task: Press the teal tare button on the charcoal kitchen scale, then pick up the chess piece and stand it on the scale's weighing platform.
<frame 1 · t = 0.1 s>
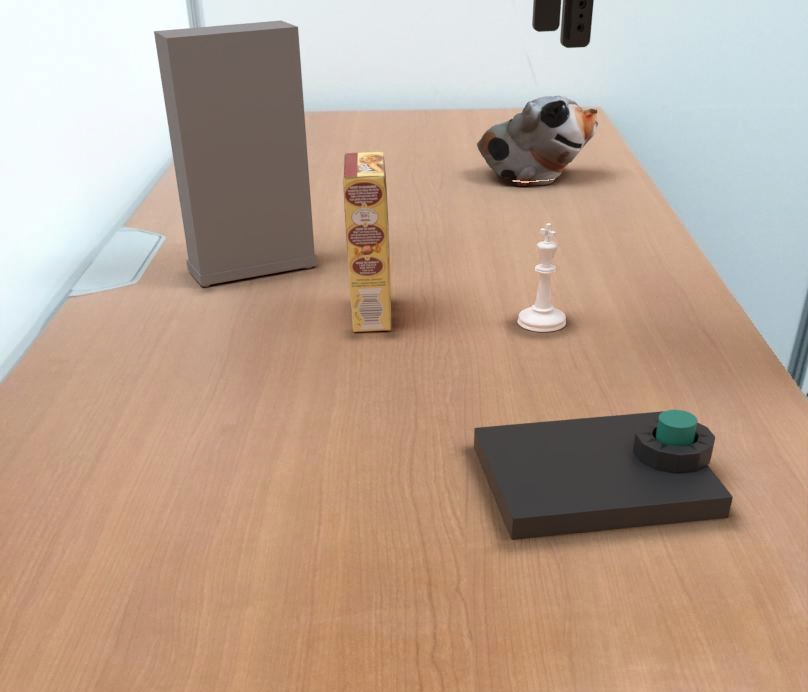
hand: (559, 38, 78), 27 cm above the table, tool pointing down, fingers open, 8 cm apart
candy box: (370, 317, 100), on the table
gray rectangular block: (252, 271, 111), on the table
chess piece: (541, 324, 98), on the table
scale: (593, 481, 73), on the table
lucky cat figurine: (535, 177, 141), on the table
tare button: (676, 428, 71), point 4 cm above the table, slide at 0.1 cm
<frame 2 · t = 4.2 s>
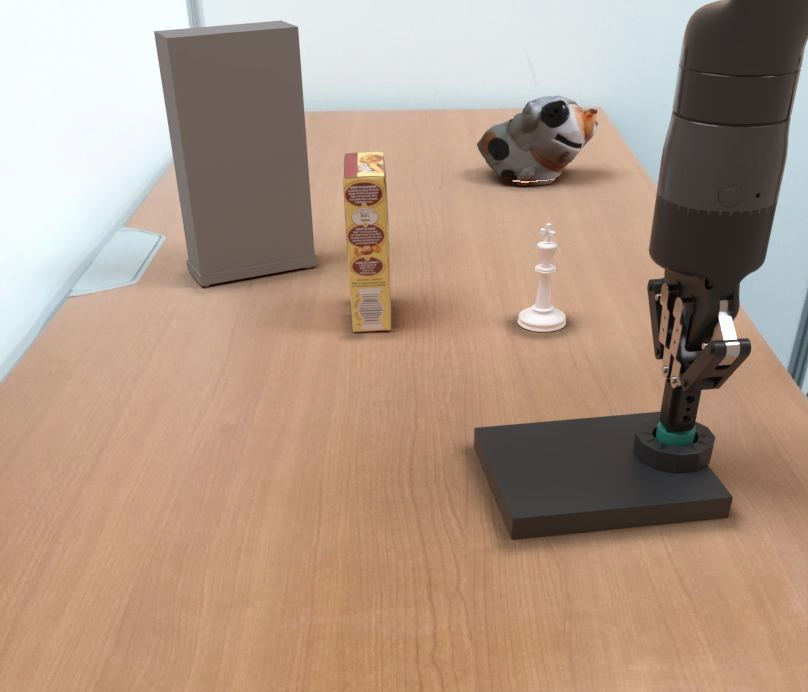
hand: (675, 426, 71), 4 cm above the table, tool pointing down, fingers closed
tare button: (675, 436, 72), point 3 cm above the table, slide at -0.6 cm, touching gripper
everything else where it was.
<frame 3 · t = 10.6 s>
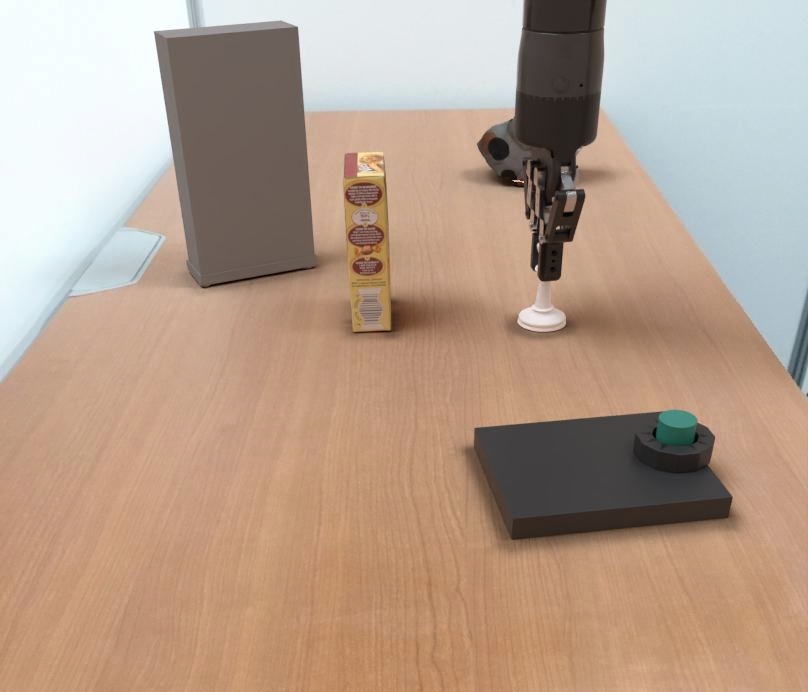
hand: (545, 274, 95), 5 cm above the table, tool pointing down, fingers closed on chess piece
chess piece: (541, 324, 98), on the table, touching gripper
tare button: (676, 428, 71), point 4 cm above the table, slide at 0.1 cm
everything else where it was.
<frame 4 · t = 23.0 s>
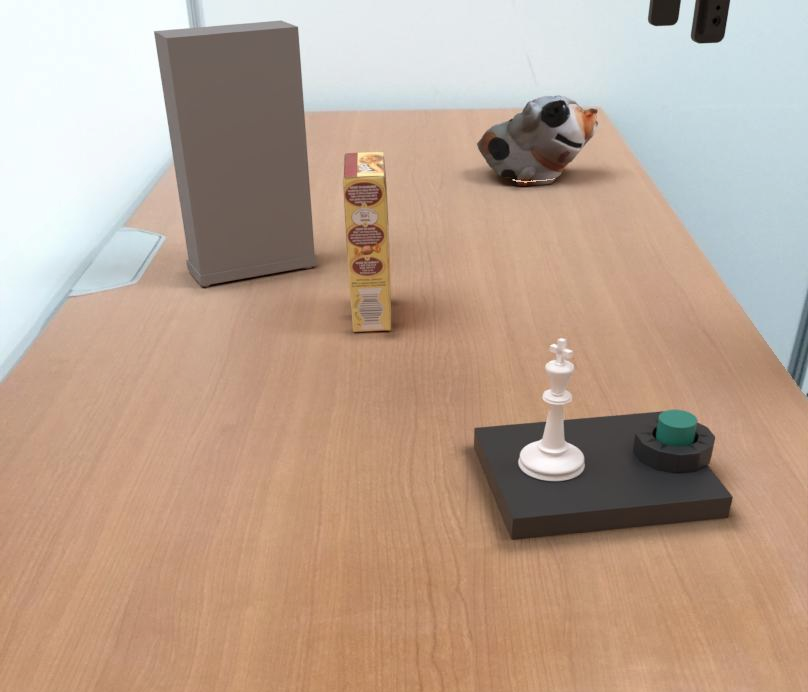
hand: (683, 33, 70), 28 cm above the table, tool pointing down, fingers open, 8 cm apart
chess piece: (551, 466, 72), point 2 cm above the table, touching scale
everything else where it was.
at the end: tare button pushed in 0.9 cm at the most during the clip, back to where it started at the end; chess piece inside the target area on the scale (1.2 cm from its centre), point 1.7 cm above the scale's base; chess piece tilted 0° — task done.
